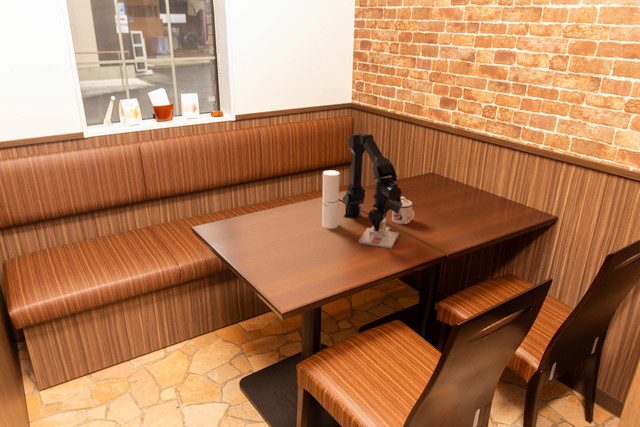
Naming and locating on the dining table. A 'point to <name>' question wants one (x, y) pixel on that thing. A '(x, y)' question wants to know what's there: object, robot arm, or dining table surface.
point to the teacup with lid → (403, 212)
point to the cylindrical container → (330, 199)
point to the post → (382, 226)
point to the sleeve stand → (379, 237)
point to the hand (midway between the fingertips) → (379, 227)
